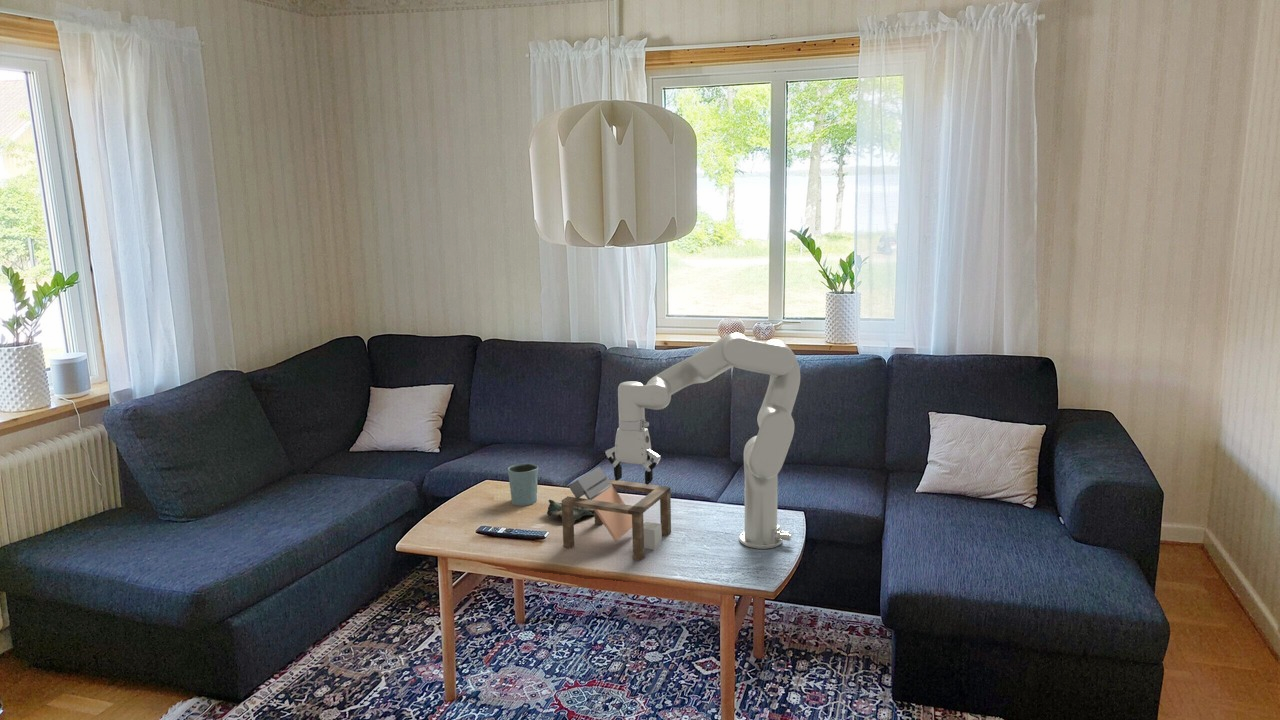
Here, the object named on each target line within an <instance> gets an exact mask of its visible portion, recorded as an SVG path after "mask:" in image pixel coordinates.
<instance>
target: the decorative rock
mask: <svg viewBox="0 0 1280 720" xmlns="http://www.w3.org/2000/svg"><path fill="white" fill-rule="evenodd" d="M548 503H549V504H548V506H547V512H546V514H547V515H548V516H550V517H556V518H558V517H560V518H561V519H562V502H558V501H556V500H552V499H548ZM585 516H594V517H595V515H594V509H590V508H583V507H577V506H573V517H574V523H575V522H576V520H580V519H581V518H582V517H585Z"/></svg>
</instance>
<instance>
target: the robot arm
mask: <svg viewBox="0 0 1280 720" xmlns="http://www.w3.org/2000/svg"><path fill="white" fill-rule="evenodd" d="M732 368H736V369H740V370H744V371H749V372H753V373H759V374H764V375H769V382H768V386H767V389H766V393H765V395H764V398H763V401H762V403H761V407H760V409H759V411H758V414H757V419H756V420H757V425H758V428H759V429H758V432H757V435H754V436H752V437H751V438H750V439H748V441H746V443H745V445H744V449H743V470H744V531H742V532H741V533H740V534H739V538H738V540H739V542H740V543H741V544H742V545H743V546H746V547H749V548H752V549H759V550H760V549H761V550H764V549H772V548H776V547H779V546H780V545H781V544H782V543H783V540H784V541H787V542H790V541H791V540H792V534H791V533H790V531H787V530H782V529H781V525H780V524H778V490H779V489H778V488H779V487H778V484H779V483H778V480H779V479H778V475H779V473H780V472H781V470H782V467H783V465H784V463H785V460H786V457H787V454H788V453H789V452H788V451H789V449H790V446H791V443H792V441H793V437H794V433H795V421H794V418H793V416H792V413H793V409H794V406H795V403H796V400H797V396H798V393H799V389H800V384H801V369H800V365H799V362H798V359H797V357H796V355H795V353H794V352H793V350H792V349H791V348H790V346H788V344H787V343H785V341H783V340H781V339H777V338H772V339H769V340H766V342H762V341H757V340H752V339H749V338H748V337H747V336H746V335H745V334H743V333H740V332H733V333H729V334H727V335H725V336H724V337H722V338H720V339H719V340H717V341H715V342H714V343H712V344H711V345H708V346H707V347H705V348H704V349H702V350H700V351H698V352H697V353H695V354H694V355H691V356H690V357H687V358H685V359H683V360H681V361H680V362H678V363H675V364H673V365H671V366H669V367H667V368H666V369H664V370H663V371H660V372H659V373H658V374H656V375H654V376H652V378H650V379H649V380H647V383H646V384H643V383H642V382H639V381H635V380H634V381H631V380H629V381H623V382H620V383H619V385H618V387H617V398H618V399H617V403H618V404H617V405H618V409H617V410H618V428H617V430H616V434H615V440H614V446H613V447H612V448H609V449H607V450H605V451H604V452H605V456H606V457H607V458H608V459H607V461H609V463H610V464H611V466H612V468H613V474H614V475H613V477H614V480H616V481H618V480H621V479H622V478H623V473H622V472H623V471H622V463H624V464H633V465H642V466H643V467H644V469H645V471H644V484H646V485H648V484H650V483H652V481H653V479H654V478H653V477H654V475H653V472H654V471H653V469H655V468H656V467H657V465H659V462H660V460H661V458H662V457H661V455H659V454H658V453H657V452H655V451H653V450H652V444H651V443H652V442H651V437H650V433H649V429H648V427H649V426H650V422H649V421H646V416H645V414H646V412H645V410H646V409H649V410H664V409H665V408H666V407H668V406H669V404H670V403H671V400H672V395H674V394H676V393H678V392H680V391H681V390H682V389H684V388H687V387H688V386H691V385H695V384H704V383H707V382H709V381H711V380H713V379H714V378H716V377H718V376H719V375H721V374H723V373H725V372H727V371H728V370H730V369H732ZM613 453H614V455H613ZM652 459H653V462H652V461H651V460H652Z"/></svg>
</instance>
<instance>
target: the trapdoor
mask: <svg viewBox="0 0 1280 720" xmlns="http://www.w3.org/2000/svg"><path fill="white" fill-rule="evenodd" d="M608 479H609V478H608V477H607V476H606V474H605V472H604V471H603V470H602V468H601V467H600V466H598V467H596V468H594V469H593V470H591V471H590V472H589V473H587V474H585V475H584V476H582V477H580V478H579V479H577V480H576V481H574V482H572V483H571V484H570V485H568V488H569V489H570V491H571V492H572V494H573V495H574V496H573V497H576V498H582V497H583V496H585V497H586V499H590V500H597V501H604V502H610V503H617V504H624V505H626V504H625V503H626V502H624V500H623V499H622V497H621V496H620V495H619V493H618V492H617V490H616V488H614V487H613V485H612V484H611V483H610V482H609V480H608ZM594 510H595V512H596V513H597V515H598V516H599V518H600V519H601V521H602V522H603V524H602V525H603V526H604V527H605V528H606V529H607V531H608V533H609V534H610V536H611V537H612V539H613V540H614V541H615V542H617V541H618V540H619V539H620V538H622V537H623V536H624V535H625V534H626V533H628V532H629V531H630V530H632V515H630V514H624V513H617V512H610V511H604V510H597V509H594Z"/></svg>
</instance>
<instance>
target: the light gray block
mask: <svg viewBox="0 0 1280 720" xmlns="http://www.w3.org/2000/svg"><path fill="white" fill-rule="evenodd" d="M643 523H644V549H649V550H657V548H658V547H659V546H661V544H663V542H662V541H663V540H662V536H663V535H662V530H661V523H657V522H650V521H645V522H643Z"/></svg>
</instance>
